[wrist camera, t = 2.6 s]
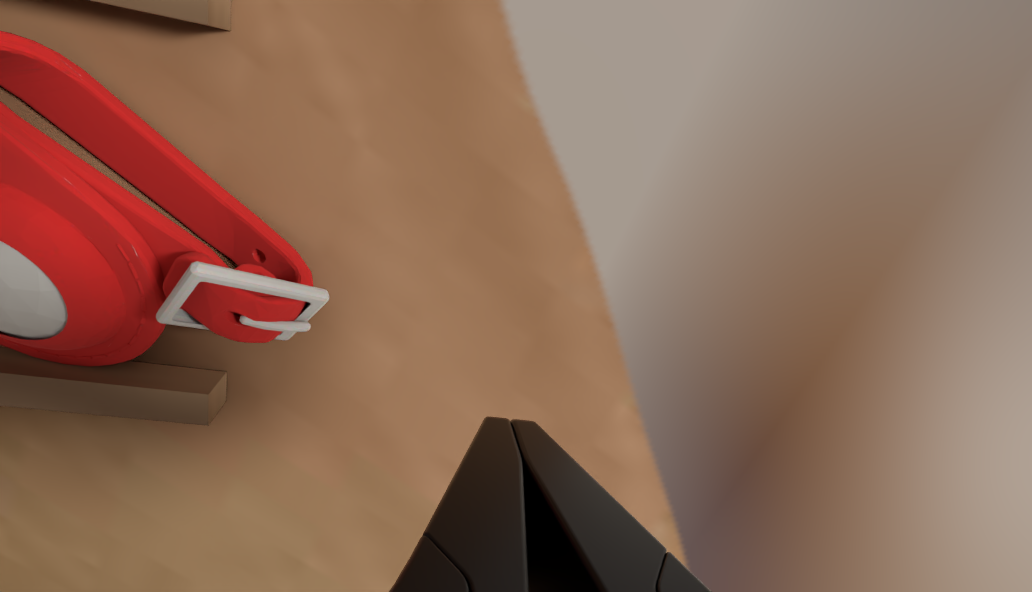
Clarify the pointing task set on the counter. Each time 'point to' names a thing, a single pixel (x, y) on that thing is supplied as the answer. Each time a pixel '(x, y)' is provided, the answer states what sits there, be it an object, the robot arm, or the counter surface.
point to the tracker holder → (123, 232)
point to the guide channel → (129, 383)
